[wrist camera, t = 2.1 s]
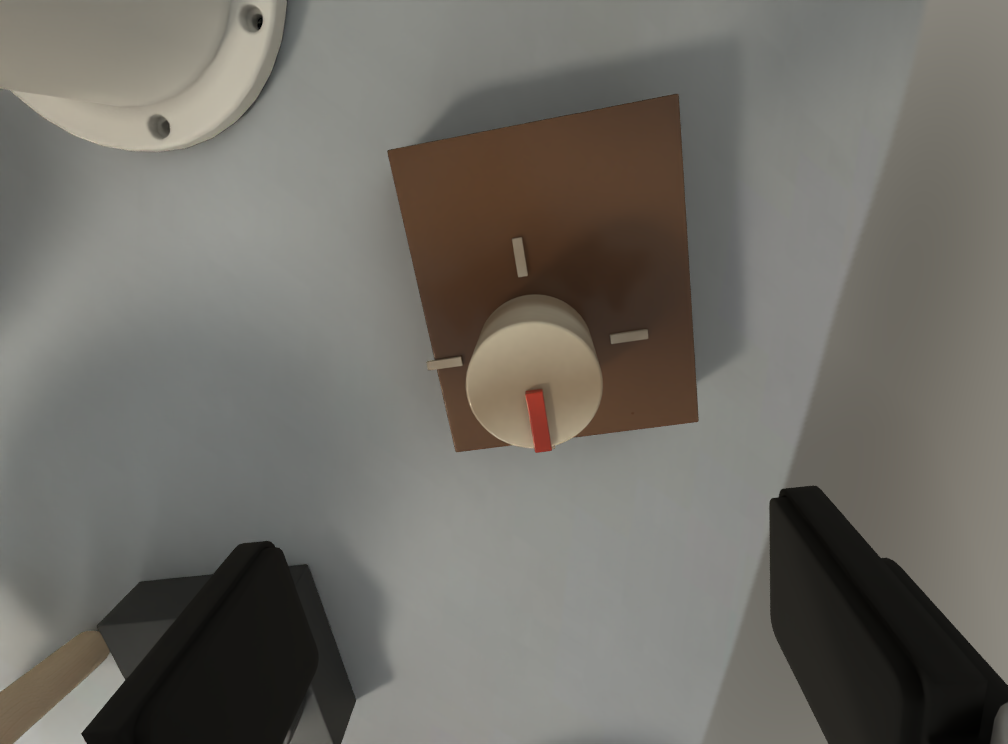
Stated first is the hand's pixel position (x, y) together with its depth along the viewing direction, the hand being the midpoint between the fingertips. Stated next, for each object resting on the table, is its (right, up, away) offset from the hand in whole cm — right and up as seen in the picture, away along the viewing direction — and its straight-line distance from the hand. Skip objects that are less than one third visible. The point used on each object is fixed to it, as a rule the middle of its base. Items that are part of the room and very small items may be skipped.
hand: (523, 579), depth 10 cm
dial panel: (+2, +8, +13) cm, 15 cm away
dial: (+1, +5, +11) cm, 12 cm away
